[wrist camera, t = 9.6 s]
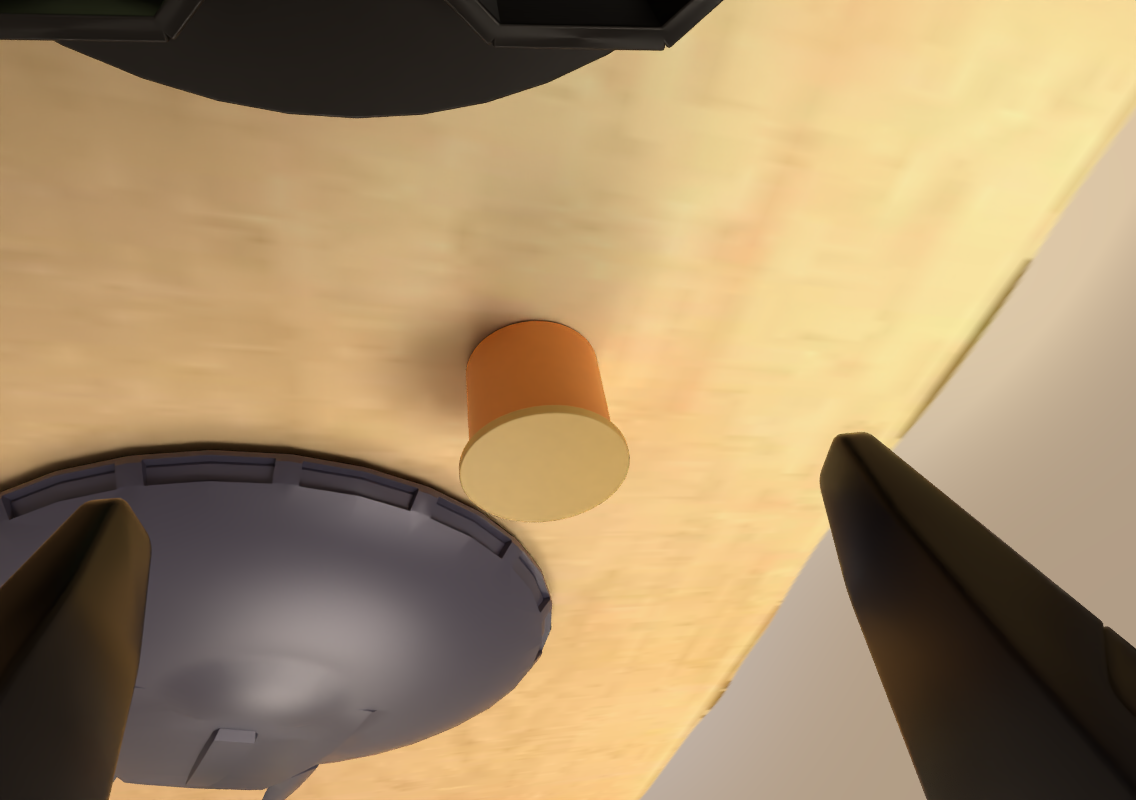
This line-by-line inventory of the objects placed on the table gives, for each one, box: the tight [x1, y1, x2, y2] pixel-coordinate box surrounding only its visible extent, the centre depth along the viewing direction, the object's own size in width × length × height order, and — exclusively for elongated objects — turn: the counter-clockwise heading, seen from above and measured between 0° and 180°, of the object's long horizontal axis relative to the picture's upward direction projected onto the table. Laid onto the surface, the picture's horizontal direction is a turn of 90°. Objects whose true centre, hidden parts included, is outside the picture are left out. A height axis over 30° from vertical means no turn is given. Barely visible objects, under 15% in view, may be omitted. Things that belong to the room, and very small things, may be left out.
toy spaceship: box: [0, 450, 552, 800], centre depth 33 cm, size 28×24×3 cm
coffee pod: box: [459, 321, 630, 522], centre depth 22 cm, size 5×5×4 cm
